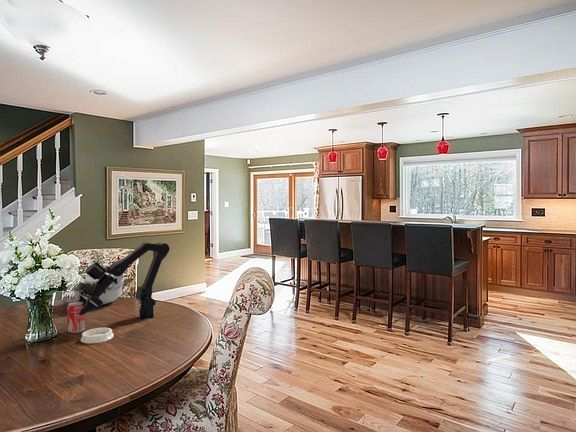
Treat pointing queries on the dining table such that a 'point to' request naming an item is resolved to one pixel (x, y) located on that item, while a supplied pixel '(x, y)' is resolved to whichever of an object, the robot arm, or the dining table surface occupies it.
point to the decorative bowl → (111, 291)
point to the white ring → (97, 335)
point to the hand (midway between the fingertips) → (76, 312)
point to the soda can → (75, 317)
